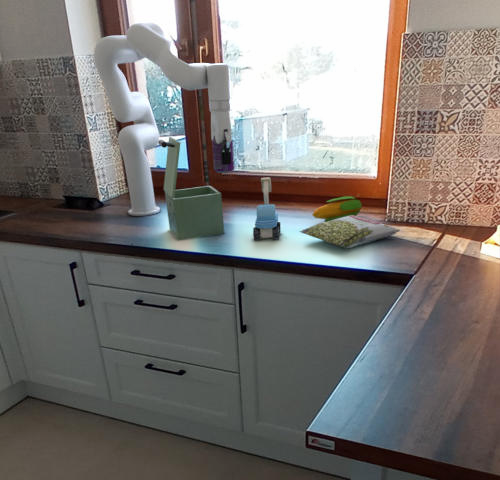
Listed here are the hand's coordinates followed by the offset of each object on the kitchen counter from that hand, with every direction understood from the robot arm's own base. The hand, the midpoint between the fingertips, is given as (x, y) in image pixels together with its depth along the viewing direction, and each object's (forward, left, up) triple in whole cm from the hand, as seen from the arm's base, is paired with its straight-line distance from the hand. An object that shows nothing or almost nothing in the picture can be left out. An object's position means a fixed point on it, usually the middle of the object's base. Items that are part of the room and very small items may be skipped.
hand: (223, 162), depth 206 cm
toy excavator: (+26, +6, -20) cm, 34 cm away
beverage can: (0, 0, -4) cm, 4 cm away
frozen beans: (+45, +27, -20) cm, 57 cm away
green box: (+10, -15, -20) cm, 27 cm away
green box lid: (+10, -20, +2) cm, 23 cm away
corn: (+21, +34, -20) cm, 45 cm away
